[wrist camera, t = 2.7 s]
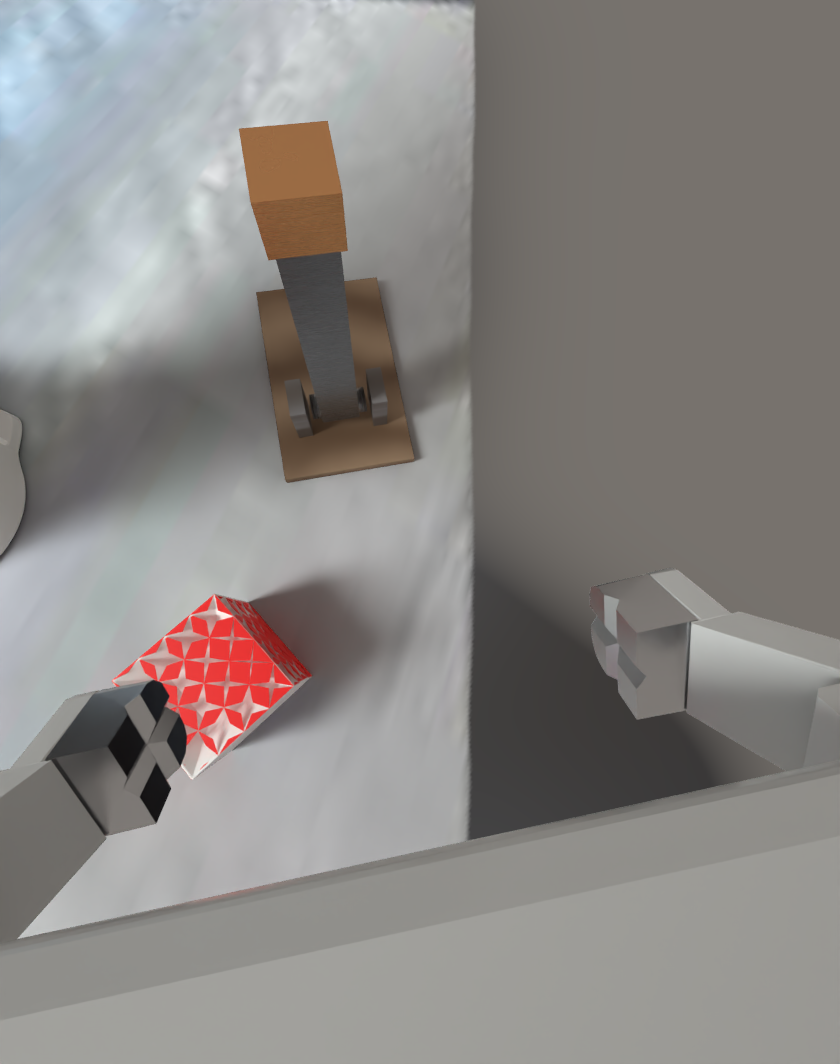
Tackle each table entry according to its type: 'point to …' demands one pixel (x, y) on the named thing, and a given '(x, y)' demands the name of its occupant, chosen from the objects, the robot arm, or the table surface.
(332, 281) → the lever
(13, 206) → the table surface
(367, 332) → the lever base
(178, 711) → the puzzle cube
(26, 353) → the table surface
